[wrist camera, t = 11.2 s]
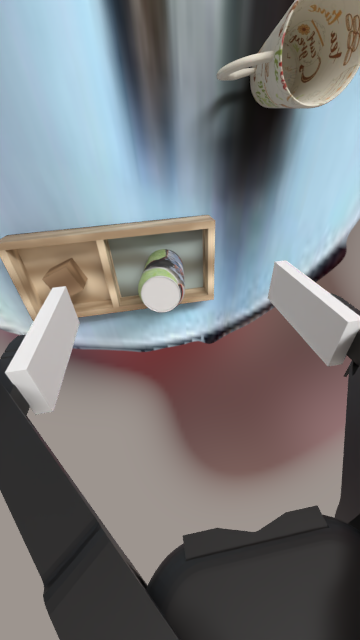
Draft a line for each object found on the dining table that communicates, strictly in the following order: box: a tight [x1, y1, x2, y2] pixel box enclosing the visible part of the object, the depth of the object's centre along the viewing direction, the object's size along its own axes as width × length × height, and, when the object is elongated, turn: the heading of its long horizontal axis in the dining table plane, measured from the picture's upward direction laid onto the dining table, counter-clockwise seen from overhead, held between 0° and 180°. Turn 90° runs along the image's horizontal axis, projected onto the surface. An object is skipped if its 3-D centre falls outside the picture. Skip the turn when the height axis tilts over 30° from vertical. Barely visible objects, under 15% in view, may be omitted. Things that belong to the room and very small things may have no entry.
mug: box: [217, 0, 360, 108], centre depth 25 cm, size 8×13×10 cm, turn 100°
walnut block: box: [42, 258, 88, 296], centre depth 37 cm, size 4×4×4 cm
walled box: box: [0, 215, 215, 322], centre depth 38 cm, size 13×30×4 cm, turn 94°
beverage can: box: [138, 249, 185, 312], centre depth 35 cm, size 6×7×12 cm
